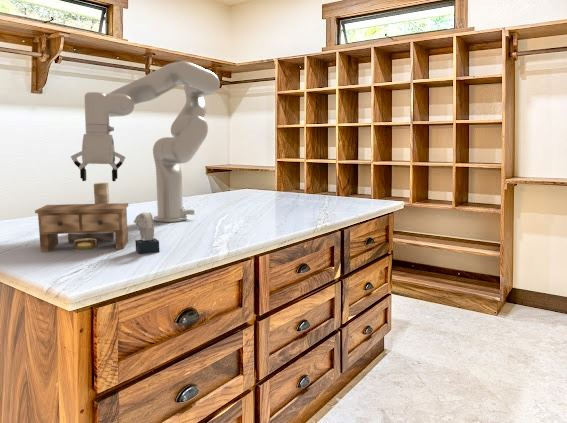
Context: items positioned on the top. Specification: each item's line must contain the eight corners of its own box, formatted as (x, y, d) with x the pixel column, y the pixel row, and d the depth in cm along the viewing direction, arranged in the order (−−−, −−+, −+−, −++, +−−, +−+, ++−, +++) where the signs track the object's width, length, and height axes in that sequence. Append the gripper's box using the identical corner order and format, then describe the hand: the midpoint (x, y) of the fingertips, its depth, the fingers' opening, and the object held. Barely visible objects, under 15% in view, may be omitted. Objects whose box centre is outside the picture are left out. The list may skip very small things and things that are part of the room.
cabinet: (129, 241, 146) (128, 203, 145) (124, 249, 135) (122, 208, 133) (50, 243, 142) (47, 204, 140) (37, 253, 131) (34, 210, 129)
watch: (153, 247, 138) (152, 210, 137) (161, 253, 131) (159, 214, 130) (133, 249, 135) (132, 211, 134) (140, 255, 129) (138, 215, 127)
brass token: (98, 245, 141) (98, 237, 141) (94, 250, 136) (94, 241, 135) (77, 246, 140) (76, 238, 140) (72, 250, 134) (71, 242, 134)
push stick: (123, 227, 168) (121, 182, 166) (113, 241, 146) (110, 189, 144) (85, 228, 166) (82, 183, 163) (68, 242, 144) (65, 190, 141)
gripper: (125, 131, 165) (127, 180, 167) (73, 129, 162) (75, 180, 164) (122, 130, 158) (124, 182, 160) (67, 129, 154) (69, 181, 157)
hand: (99, 180), depth 162 cm, fingers open, 9 cm apart
